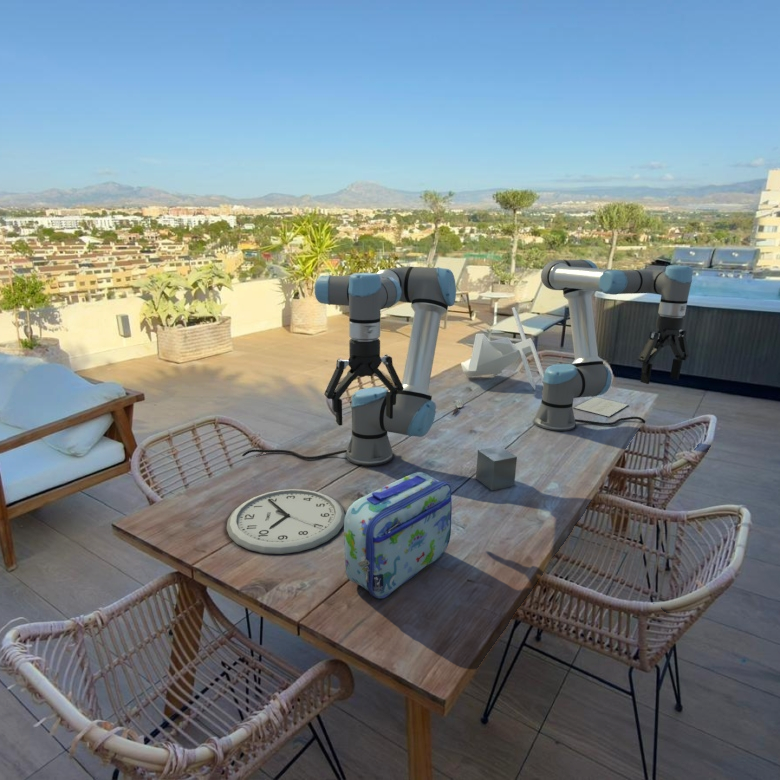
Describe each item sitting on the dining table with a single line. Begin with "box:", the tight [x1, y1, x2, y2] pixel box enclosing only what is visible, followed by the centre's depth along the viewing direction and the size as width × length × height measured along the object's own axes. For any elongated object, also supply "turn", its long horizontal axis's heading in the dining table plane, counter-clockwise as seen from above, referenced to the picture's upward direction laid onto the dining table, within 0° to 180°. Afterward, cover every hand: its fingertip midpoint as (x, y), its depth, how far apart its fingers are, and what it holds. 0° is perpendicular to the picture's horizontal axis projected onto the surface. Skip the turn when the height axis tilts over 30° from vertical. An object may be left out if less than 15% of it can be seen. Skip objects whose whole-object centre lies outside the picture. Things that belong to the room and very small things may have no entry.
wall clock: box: [226, 488, 346, 555], centre depth 135 cm, size 30×2×30 cm
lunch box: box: [343, 471, 453, 599], centre depth 113 cm, size 26×11×21 cm, turn 134°
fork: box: [452, 399, 465, 416], centre depth 218 cm, size 3×16×2 cm, turn 160°
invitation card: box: [573, 396, 629, 418], centre depth 226 cm, size 21×1×15 cm
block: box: [475, 445, 518, 492], centre depth 156 cm, size 8×8×9 cm
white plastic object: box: [460, 306, 545, 391], centre depth 259 cm, size 37×45×31 cm
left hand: (364, 420), depth 133 cm, fingers open, 13 cm apart
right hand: (659, 380), depth 171 cm, fingers open, 13 cm apart
